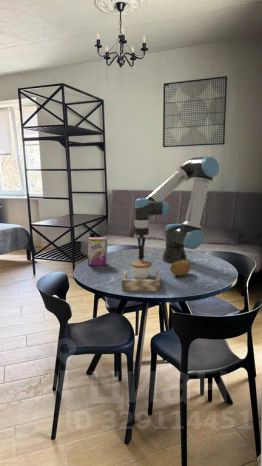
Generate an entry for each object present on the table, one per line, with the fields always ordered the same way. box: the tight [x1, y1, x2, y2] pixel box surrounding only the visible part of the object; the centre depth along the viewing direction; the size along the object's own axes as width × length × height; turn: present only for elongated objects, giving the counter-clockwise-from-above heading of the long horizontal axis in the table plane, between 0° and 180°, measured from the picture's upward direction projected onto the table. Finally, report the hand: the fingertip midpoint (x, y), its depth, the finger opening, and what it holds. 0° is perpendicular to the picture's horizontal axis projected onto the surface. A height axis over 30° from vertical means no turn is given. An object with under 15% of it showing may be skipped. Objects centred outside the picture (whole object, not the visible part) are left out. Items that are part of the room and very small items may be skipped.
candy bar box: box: [87, 236, 108, 267], centre depth 191 cm, size 11×5×16 cm, turn 84°
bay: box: [121, 270, 160, 292], centre depth 156 cm, size 17×15×5 cm
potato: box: [169, 259, 192, 277], centre depth 171 cm, size 10×14×8 cm
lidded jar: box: [130, 260, 153, 280], centre depth 167 cm, size 11×11×9 cm
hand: (141, 269), depth 176 cm, fingers closed
